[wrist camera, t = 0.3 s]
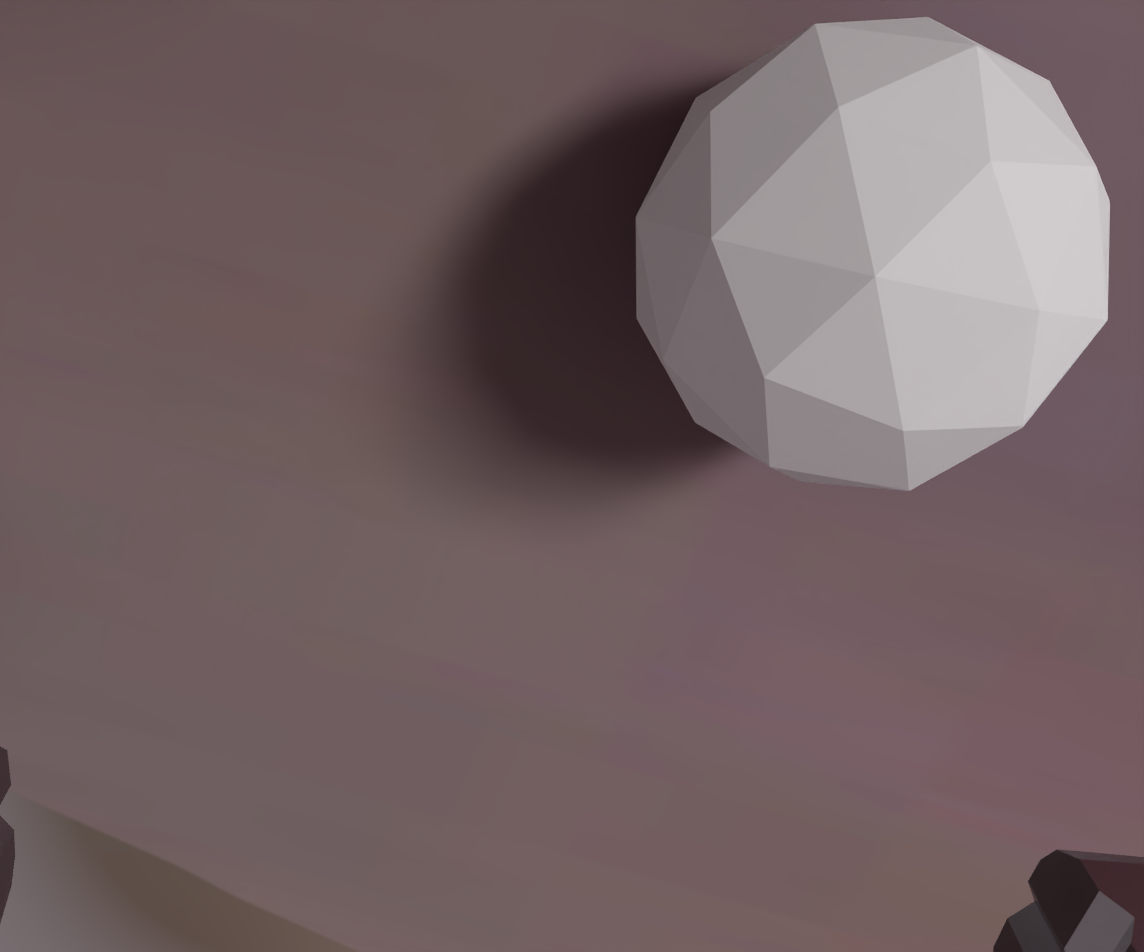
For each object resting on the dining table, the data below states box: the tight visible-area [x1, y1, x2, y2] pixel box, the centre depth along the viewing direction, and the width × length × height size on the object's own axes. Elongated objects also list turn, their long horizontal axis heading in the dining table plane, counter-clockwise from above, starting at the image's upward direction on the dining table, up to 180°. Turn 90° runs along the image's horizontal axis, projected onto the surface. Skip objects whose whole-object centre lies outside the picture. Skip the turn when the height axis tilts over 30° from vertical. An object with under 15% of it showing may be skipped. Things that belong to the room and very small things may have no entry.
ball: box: [636, 17, 1110, 491], centre depth 46 cm, size 19×20×20 cm
